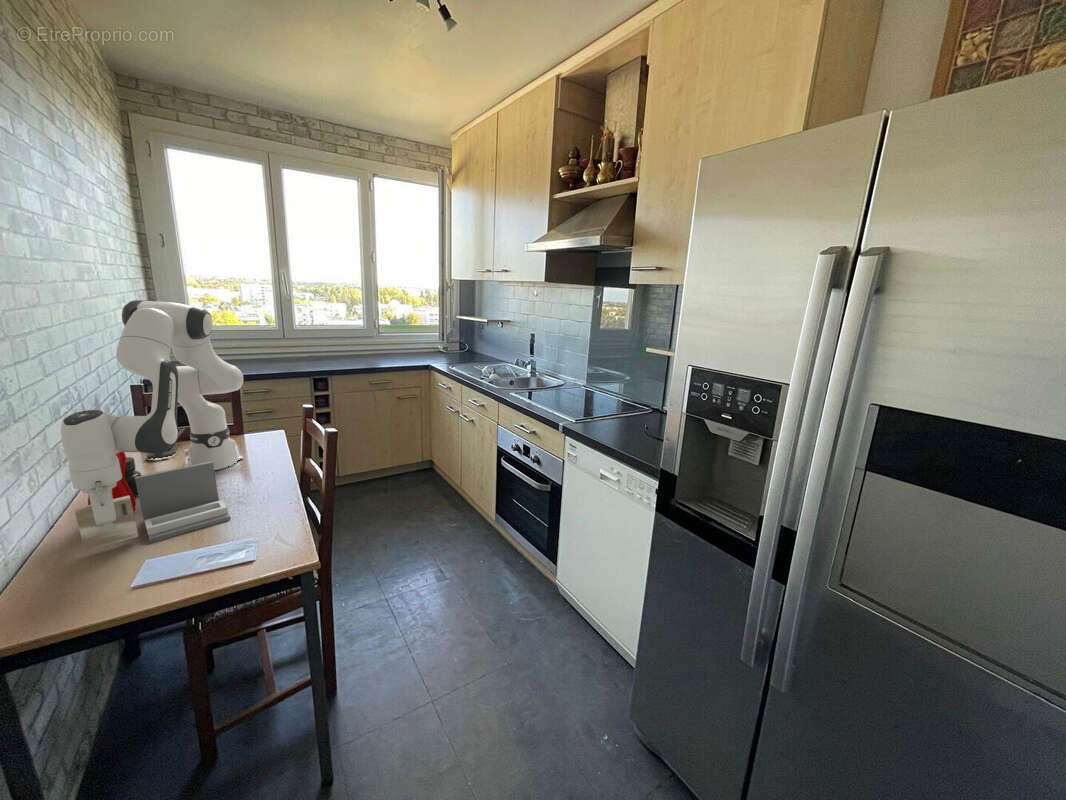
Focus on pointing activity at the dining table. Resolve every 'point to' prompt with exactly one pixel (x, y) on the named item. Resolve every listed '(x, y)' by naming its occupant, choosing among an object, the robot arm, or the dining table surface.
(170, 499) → the grey tablet stand
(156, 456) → the dark grey phone stand
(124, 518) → the door panel
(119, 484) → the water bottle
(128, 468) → the ink bottle
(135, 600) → the dining table surface
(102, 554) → the dining table surface
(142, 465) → the dining table surface
